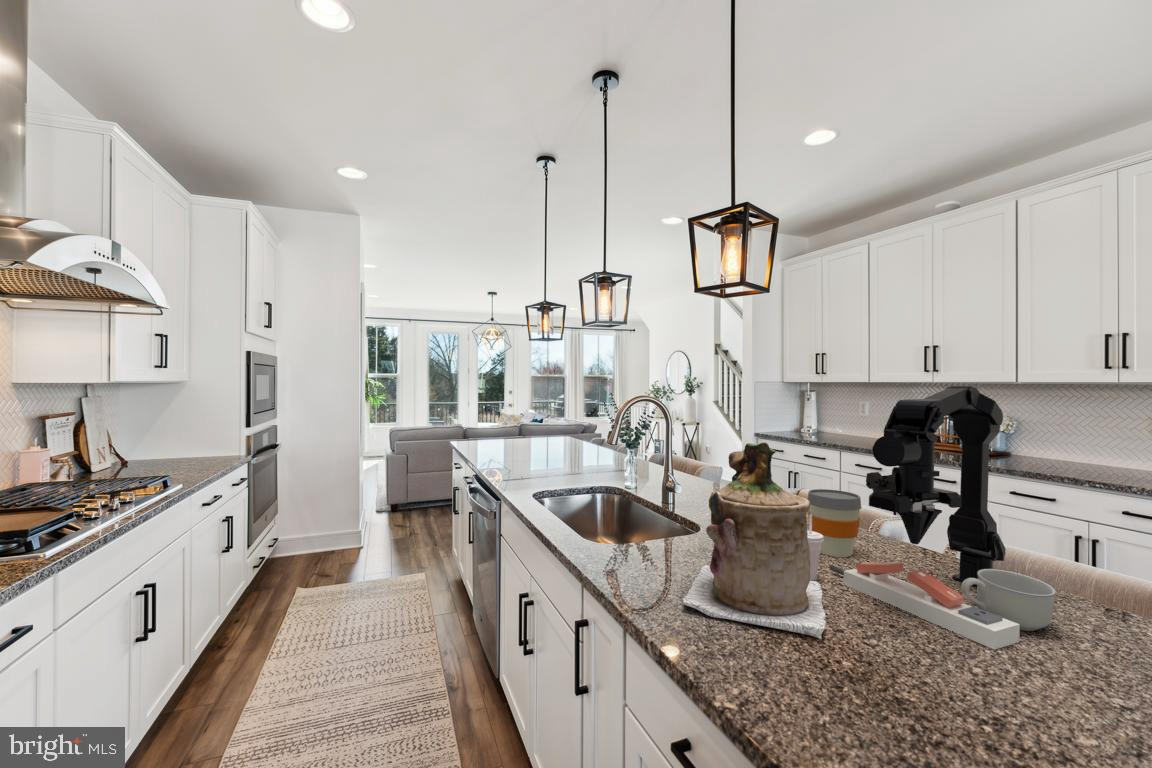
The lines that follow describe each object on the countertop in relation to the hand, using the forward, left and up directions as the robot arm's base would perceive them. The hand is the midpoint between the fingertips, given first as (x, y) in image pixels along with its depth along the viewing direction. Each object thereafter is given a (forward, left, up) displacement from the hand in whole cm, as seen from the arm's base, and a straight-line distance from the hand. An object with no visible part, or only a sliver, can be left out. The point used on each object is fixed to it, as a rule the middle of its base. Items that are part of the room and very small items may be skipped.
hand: (914, 543), depth 96 cm
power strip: (0, -2, -12) cm, 12 cm away
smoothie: (+8, -19, -13) cm, 24 cm away
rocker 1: (0, -7, -7) cm, 10 cm away
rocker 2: (0, +4, -7) cm, 8 cm away
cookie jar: (+28, -13, -13) cm, 33 cm away
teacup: (-10, +10, -13) cm, 19 cm away
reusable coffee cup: (-13, -30, -13) cm, 35 cm away
